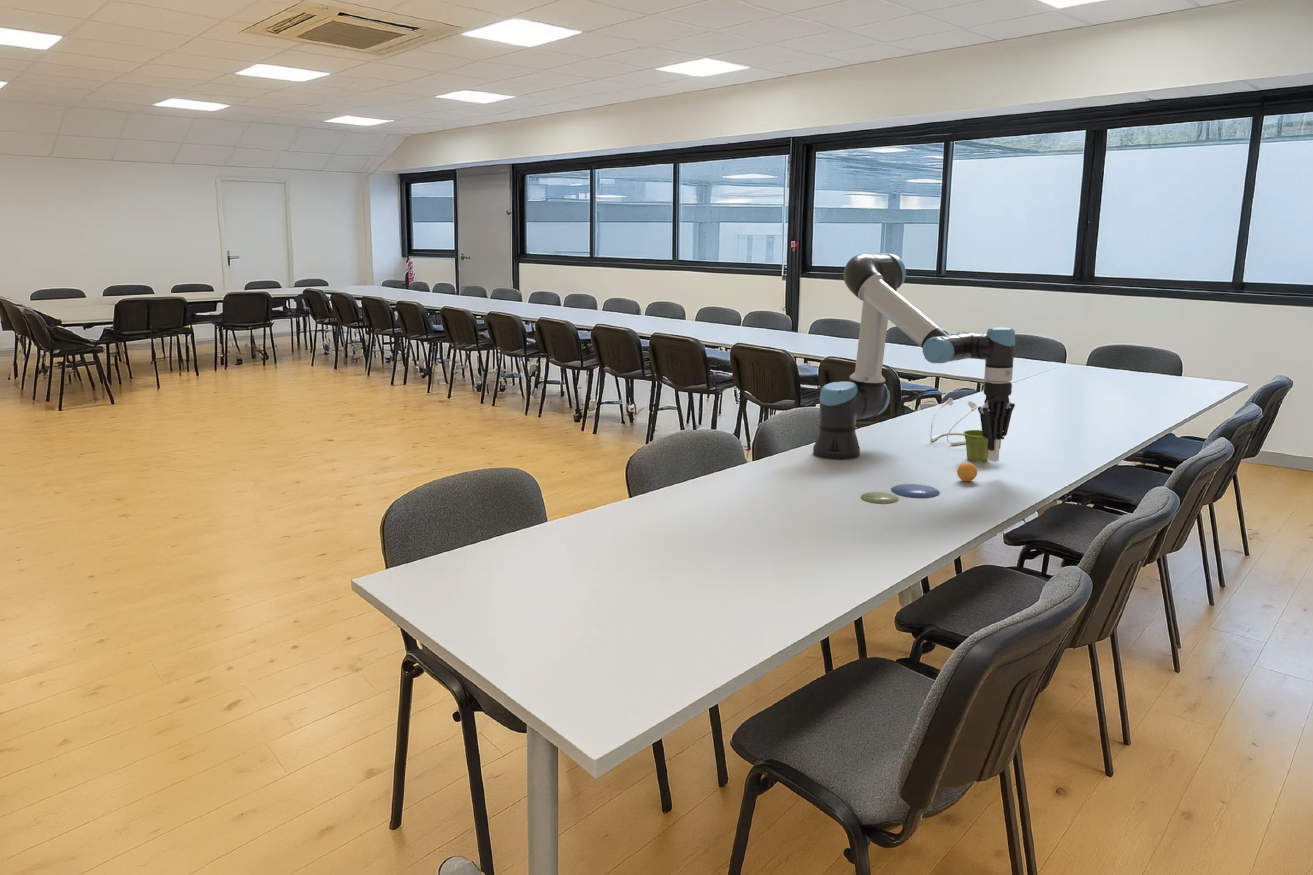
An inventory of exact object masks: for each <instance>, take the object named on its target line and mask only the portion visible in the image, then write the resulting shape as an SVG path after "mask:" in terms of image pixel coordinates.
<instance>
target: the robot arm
mask: <svg viewBox="0 0 1313 875" xmlns="http://www.w3.org/2000/svg"><path fill="white" fill-rule="evenodd" d="M906 270H907V269H906V267H905V264H904V262H903V261H902V259H901V258H900V257H899V256H898V255H896V254H893V253H886V252H878V253H877V252H876V253H861V254H857V255H855V256H852V257H851V258H850V259H849V260H848V262H846V265H845V266H844V270H843V281H844V284H845V285H846V287H847V289H848V290H849V291H850V292H851V293H852V294H853V295H854V296H856V298H857V299H859V300H860V301H862V307H861V316H860V324H859V334H858V343H857V352H856V359H855V368H854V369H855V370H854V372H853V373H852V374H850V375H849V381H842V380H841V381H834V382H829V383H827V384H824V385H823V386H822V387H821V388H820V396H819V422H818V423H819V424H818V425H819V426H818V427H819V428H818V433H817V436H816V440H815V442H814V444H813V447H812V448H813V449H812V455H814V456H815V457H818V458H821V459H827V460H836V461H837V460H840V461H841V460H852V459H856V458H859V457H860V456H861V447H860V444H859V440H858V437H857V433H856V425H857V424H856V422H857V421H858V420H861V419H867V418H872V417H876V416H878V415H880V414H882V413H883V412H884V411H886V409H888V406H889V404H890V401H891V400H890V399H891V394H890V390H889V389H888V386H887V384H886V378H885V376H883V374H882V371H883V363H884V355H885V347H886V339H887V331H888V323H889V321H890V322H891V323H892V324H893V325H894V326H896V327H897V328H898V329H899V330H900V331H902V332H903V333H904V334H905V335H906V336H907V337H908V338H910V339H911V340H912V341H913V342H915V344H917V345H918V346H919V347H920V348H922V354H923V357H924V359H925V360H926V361H927V362H928V363H931V364H945V363H949V362H954V361H962V360H968V359H974V360H982V361H983V360H984V362H985V363H984V364H985V365H984V375H983V376H984V377H983V378H984V380H985V381H984V383H983V394H984V395H985V399H984V404H983V405H981V406H977V411H978V413H979V418H980V424H981V430H982V435H983V437H985V438H987V439H988V459H987V461H991V462H994V463H995V462H999V461H1000V459H999V458H1000V450H1001V445H1002V444H1001V443H1002V442H1001V441H1002V440H1004V439H1005V437H1007V434H1008V430H1009V427H1010V424H1011V417H1012V413H1013V411H1014V409H1015V407H1016V404H1015V403H1014V402H1013V403H1012V402H1011V401H1010V396H1011V395H1012V392H1013V391H1012V389H1013V383H1012V380H1013V370H1014V355H1015V348H1016V347H1015V345H1016V331H1015V330H1014V328H1011V327H1000V326H997V327H996V326H994V327H989V328H988V329H986V330H987V331H986V333H979V332H978V333H977V332H967V331H954V332H951V334H948V333H946V332H945V331H944V330H943V329H942V328H940V327H939V326H938V325H937V324H935V322H933V321H932V320H931V319H929V318H928V316H926V315H925V314H923V312H921V311H920V310H919V309H918V308H916V307H915V306H914V305H912V303H910V302H909V301H908V300H907V299H905V298H904V297H903V296H902V295H901V294H899V293H898V292H897V291H898V289H900V287H901V286H902V285H903V284H904V282H905V280H906V275H907V271H906Z"/></svg>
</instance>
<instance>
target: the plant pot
mask: <svg viewBox="0 0 1313 875" xmlns="http://www.w3.org/2000/svg"><path fill="white" fill-rule="evenodd" d="M962 433H963V434H964V435H963V436H964V438H965V441H966V444H965V447H966V448H965V450H966V459H967V460H968V461H972V462H977V463H978V462H984V461H988V439H987V438H985V437H983V435H982V429H968V430H965V431H963V432H962Z"/></svg>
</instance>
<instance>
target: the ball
mask: <svg viewBox="0 0 1313 875" xmlns="http://www.w3.org/2000/svg"><path fill="white" fill-rule="evenodd" d="M956 473H957V477H958V478H959V479H960V480H961V481H963V482H972V481H974V480H975V479H976V477H977V476H978V468H977V467H976V465H974V464H973V463H971V462H963V463H961V464H960V465H959V466H958V468H957V470H956Z"/></svg>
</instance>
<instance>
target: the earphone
mask: <svg viewBox="0 0 1313 875" xmlns="http://www.w3.org/2000/svg"><path fill="white" fill-rule="evenodd" d="M953 404H954V399H953V398H952V397H949V398H948V399H947V400H946V401H944V402H943V403H942V404H941V406H940V407H939V408H938V410H937V411H936V413H935V414H934V416H933V418H932V421H931V425H930V433H929V434H930V436H929V437H930V439H929V440H930V442H931V443H932V442H935V441H937V439H939V438H940V437H943V436H946V441H947V443H949V444H950V445H951V446H958V445H960V444H961V445H966V439H965V440H963V439H962V440H955V441H954V440H953V441H951V442H950V441H949V435H956V434H957V435H958V436H959V435H960V436H965V435H964V434H963V432H954V431H953V432H952V429H954V428H955V426H956V425H958V424H960V422H961V421H962V420H963V419H965V418H966V417H967V416H968V415H970V413H972V412H974V411H975V410H978V405H977V403H976V402H975V401H974V402H973V401H972V400H969V401H968V402H967V406H969V408H970V411H969V412H968V413H967V414H966V415H964V416H963V417H962V418H960V420H958V421H957V422H956V423H955V424H954V425H953V426H952V427H951V428H950V429H949V431H948V432H943V433H940V434H938V435H937V434H935V435H934V436H932V432H933V423H934V420H935V417H936V416H937V414H938V412H939V411H940V410H941V409H942V408H944V407H945V406H946V405H949V406H953Z"/></svg>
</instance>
